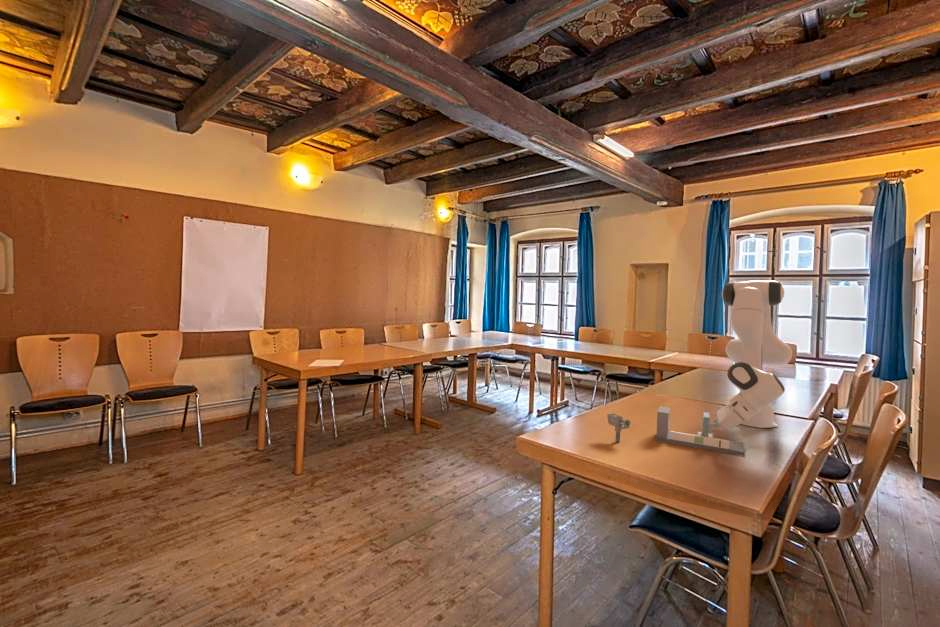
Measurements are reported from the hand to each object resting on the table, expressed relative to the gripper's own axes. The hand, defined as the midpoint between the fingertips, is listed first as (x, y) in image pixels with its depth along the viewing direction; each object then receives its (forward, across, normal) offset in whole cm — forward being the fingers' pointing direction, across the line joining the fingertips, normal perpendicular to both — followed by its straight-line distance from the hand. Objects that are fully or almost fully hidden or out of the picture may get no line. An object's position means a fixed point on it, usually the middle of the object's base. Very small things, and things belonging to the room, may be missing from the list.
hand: (710, 428), depth 169 cm
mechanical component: (+28, +16, -18) cm, 36 cm away
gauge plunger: (+5, +1, +2) cm, 5 cm away
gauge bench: (+8, 0, +2) cm, 8 cm away
